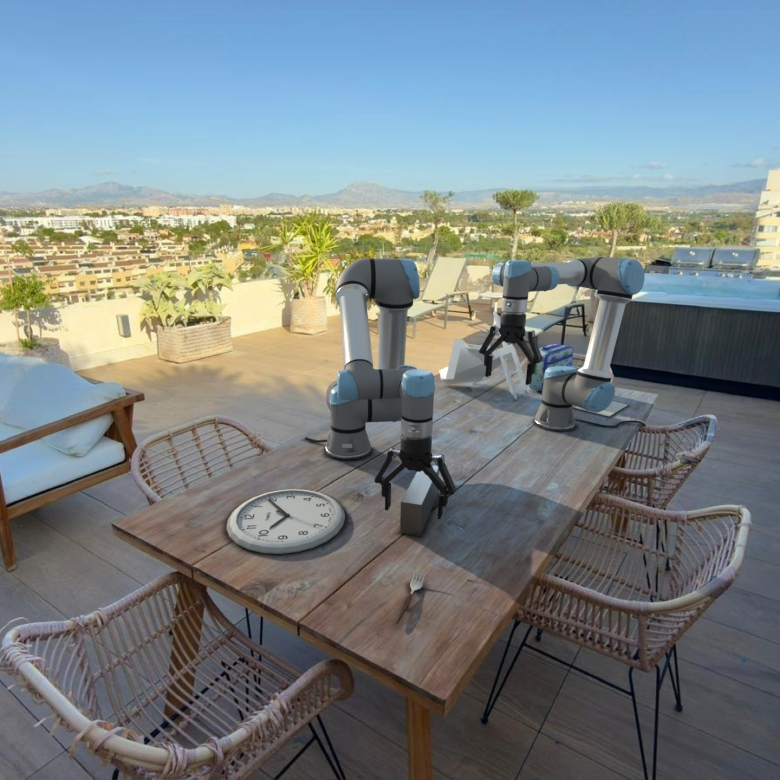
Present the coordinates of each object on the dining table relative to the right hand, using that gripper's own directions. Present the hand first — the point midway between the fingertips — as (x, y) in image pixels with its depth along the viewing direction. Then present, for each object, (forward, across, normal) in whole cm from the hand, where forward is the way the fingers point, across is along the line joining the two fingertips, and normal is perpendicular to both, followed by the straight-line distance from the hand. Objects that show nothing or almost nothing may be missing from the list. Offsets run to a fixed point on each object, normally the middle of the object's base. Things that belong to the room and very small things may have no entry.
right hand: (507, 380), depth 165 cm
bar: (+28, -2, -44) cm, 52 cm away
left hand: (+23, 0, -52) cm, 57 cm away
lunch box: (+28, -17, +89) cm, 95 cm away
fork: (+28, +15, -75) cm, 81 cm away
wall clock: (+28, -27, -69) cm, 79 cm away
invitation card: (+28, +10, +77) cm, 83 cm away
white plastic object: (+28, -40, +62) cm, 79 cm away
